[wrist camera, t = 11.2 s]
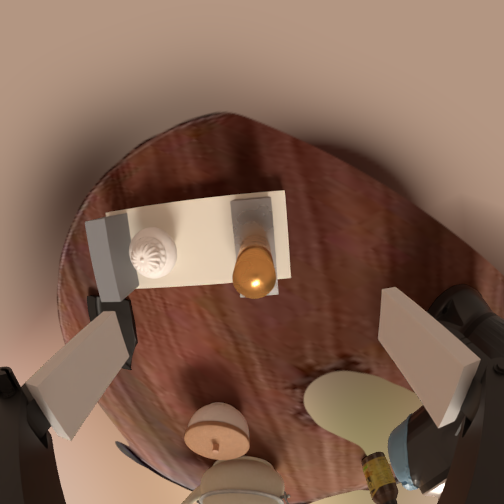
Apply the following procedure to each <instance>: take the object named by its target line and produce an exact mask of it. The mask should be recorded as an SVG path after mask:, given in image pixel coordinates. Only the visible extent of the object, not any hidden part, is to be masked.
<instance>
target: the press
mask: <svg viewBox="0 0 504 504" xmlns="http://www.w3.org/2000/svg"><path fill="white" fill-rule="evenodd" d="M262 196H269V197H271V202H272V214H273V226H274V239H275V252H276V265H277V279H283V278H291V274H290V257H289V241H288V227H287V213H286V201H285V190H281V191H269V192H257V193H246V194H236V195H226V196H217V197H208V198H200V199H192V200H184V201H176V202H169V203H162V204H155V205H149V206H142V207H136V208H130V209H124V210H118V211H112V212H108V213H106V217H103V218H99V219H94V220H90V221H86V222H85V226H86V233H87V239H88V244H89V250H90V255H91V260H92V265H93V270H94V274H95V278H96V283H97V287H98V291H99V295H100V299H101V302H121V301H122V300H123V299H124V298H126V297H127V296H128V295H129V294H130V293H131V292H132V291H133V290H134V289H139V288H158V287H176V286H192V285H208V284H222V283H233V280H232V275H233V271H234V267H235V264H236V253H235V244H234V234H233V225H232V215H231V205H230V201H232V200H234V199H240V198H251V197H262ZM148 227H156V228H159V229H161V230H164V231H165V232H166V233H168V235H169V236H171V238H172V239H173V241H174V243H175V245H176V248H177V261H176V264H175V266H174V268H173V269H172V270H171V272H169V273H168V274H167V275H165V276H163V277H161V278H156V279H152V278H148V277H145V276H143V275H141V274H140V273H139V272H138V271H137V270H136V269H135V268H134V266H133V264H132V262H131V260H130V256H129V246H130V243H131V240H132V238H133V237H134V236H135V234H136V233H138V232H139V231H141V230H142V229H145V228H148Z"/></svg>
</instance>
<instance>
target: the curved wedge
mask: <svg viewBox="0 0 504 504" xmlns="http://www.w3.org/2000/svg"><path fill="white" fill-rule="evenodd" d="M87 305H88V312H89V317H90V321H91V322H92V321H93V320H94V319H95V318H96V317H97V316H99V315H100V314H101V313H102V312H103V311H115V313H116V316H117V320H118V323H119V326H120V330H121V333H122V336H123V339H124V342H125V345H126V348H127V351H128V354H129V358H128V359H127V361H126V362H125V363H124V365H123V366H122V368H124V369H128V370H132V369H131V360H132V355H133V352H134V349H135V346H136V344H137V343H138V341H137V334H136V327H135V320H134V315H133V311H132V305H131V300H128V299H125V298H124V299H123V300H122V301H121V302H101V299H100V297H99V296H92V295H91V296H87Z"/></svg>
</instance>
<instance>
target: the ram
mask: <svg viewBox="0 0 504 504" xmlns="http://www.w3.org/2000/svg"><path fill="white" fill-rule="evenodd" d="M230 205H231V215H232V225H233V234H234V244H235V253H236V264H235V267H234V271H233V275H232V280H233V284H234V287H235V288H236V290H237V291H238V292H239V293H240V297H247V298H253V299H256V298H261V297H264V296H266V295H276V294H278V280H277V265H276V252H275V239H274V226H273V214H272V202H271V197H269V196H262V197H251V198H240V199H234V200H232V201H230Z"/></svg>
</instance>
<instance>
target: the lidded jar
mask: <svg viewBox="0 0 504 504" xmlns="http://www.w3.org/2000/svg"><path fill="white" fill-rule="evenodd" d="M184 440H185V443H186V445H187V446H188V447H189V448H190V449H191V450H192V451H194V452H195V453H197V454H199V455H201V456H204V457H206V458H210V459H216V460H230V459H235V458H238V457H241V456H242V455H244V454H245V453H246V452H247V451H248V450H249V447H250V440H249V428H248V424H247V421H246V419H245V418H244V416H243V415H242V414H241V413H240V412H239V411H238V410H237V409H235V408H234V407H233V406H231V405H229V404H226V403H222V402H215V403H211V404H209V405H206V406H203V407H202V408H200V409H198V410H197V411H196V412H195V413H194V415H193V416H192V418H191V419H190V421H189V424H188V427H187V429H186V432H185V435H184Z"/></svg>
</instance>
